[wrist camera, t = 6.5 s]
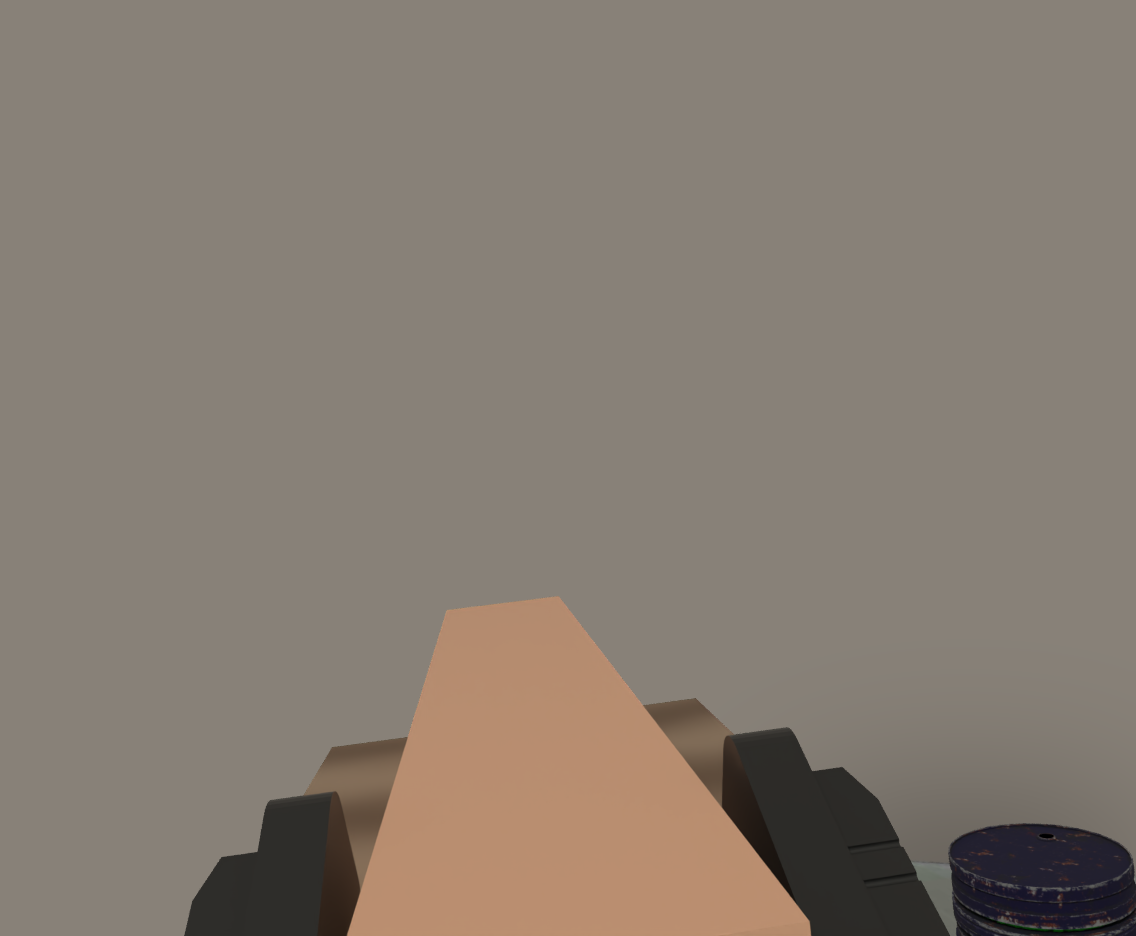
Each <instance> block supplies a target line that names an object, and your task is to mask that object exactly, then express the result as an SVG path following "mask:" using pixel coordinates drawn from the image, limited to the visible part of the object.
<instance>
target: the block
mask: <svg viewBox="0 0 1136 936" xmlns="http://www.w3.org/2000/svg"><path fill="white" fill-rule="evenodd" d="M347 936H811V930H810V921H809V920H808V919H807V917H806V916H805V915H804V914H803V912H802V911H801V910H800V908H799V907H798V906H797V904H796V903H795V902H794V901H793V899H792V898H791V897H790V895H789V894H788V893H787V892H786V890H785V889H784V888H783V886H782V885H781V884H780V882H779V881H778V880H777V879H776V877H775V876H774V875H773V873H772V872H771V871H770V869H769V868H768V867H767V866H766V864H765V863H764V862H763V860H762V859H761V858H760V857H759V855H758V854H757V853H756V851H755V850H754V849H753V847H752V846H751V845H750V844H749V842H748V841H747V840H746V838H745V837H744V836H743V835H742V833H741V832H740V831H739V829H738V828H737V827H736V825H735V824H734V823H733V822H732V820H731V819H730V818H729V816H728V815H727V814H726V812H725V811H724V810H723V809H722V807H721V806H720V805H719V803H718V802H717V801H716V800H715V798H714V797H713V796H712V794H711V793H710V792H709V790H708V789H707V788H706V787H705V785H704V784H703V783H702V781H701V780H700V779H699V777H698V776H697V775H696V774H695V772H694V771H693V770H692V768H691V767H690V766H689V765H688V763H687V762H686V761H685V759H684V758H683V757H682V755H681V754H680V753H679V752H678V750H677V749H676V748H675V746H674V745H673V744H672V743H671V741H670V740H669V739H668V737H667V736H666V735H665V733H664V732H663V731H662V730H661V728H660V727H659V726H658V724H657V723H656V722H655V720H654V719H653V718H652V717H651V715H650V714H649V713H648V711H647V710H646V709H645V708H644V706H643V705H642V704H641V702H640V701H639V700H638V698H637V697H636V696H635V695H634V693H633V692H632V691H631V690H630V688H629V687H628V686H627V684H626V683H625V682H624V680H623V679H622V678H621V676H620V675H619V674H618V673H617V671H616V670H615V669H614V667H613V666H612V665H611V664H610V662H609V661H608V660H607V658H606V657H605V656H604V654H603V653H602V652H601V651H600V649H599V648H598V647H597V645H596V644H595V643H594V641H593V640H592V639H591V638H590V636H589V635H588V634H587V632H586V631H585V630H584V629H583V627H582V626H581V625H580V623H579V622H578V621H577V619H576V618H575V617H574V616H573V614H572V613H571V612H570V610H569V609H568V608H567V606H566V605H565V604H564V603H563V601H562V600H561V599H560V598H559V597H558V596H557V597H549V598H540V599H532V600H525V601H517V602H508V603H500V604H492V605H484V606H476V607H468V608H460V609H452V610H447V611H446V614H445V618H444V621H443V624H442V628H441V631H440V634H439V637H438V641H437V644H436V647H435V650H434V654H433V657H432V660H431V663H430V667H429V670H428V673H427V676H426V680H425V683H424V686H423V690H422V693H421V696H420V699H419V703H418V706H417V709H416V712H415V715H414V719H413V722H412V726H411V729H410V732H409V735H408V738H407V742H406V745H405V748H404V751H403V755H402V758H401V761H400V764H399V768H398V771H397V774H396V777H395V781H394V784H393V787H392V790H391V794H390V797H389V800H388V804H387V807H386V810H385V813H384V817H383V820H382V823H381V826H380V830H379V833H378V836H377V839H376V843H375V846H374V849H373V852H372V856H371V859H370V862H369V866H368V869H367V872H366V875H365V879H364V882H363V885H362V888H361V892H360V895H359V898H358V901H357V905H356V908H355V911H354V914H353V918H352V921H351V924H350V927H349V931H348V934H347Z"/></svg>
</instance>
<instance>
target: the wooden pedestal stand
mask: <svg viewBox="0 0 1136 936" xmlns="http://www.w3.org/2000/svg"><path fill="white" fill-rule="evenodd" d="M643 706H644V708H645V709H646V710H647V711H648V713H649V714H650V715H651V717H652V718H653V719H654V720H655V722H656V723H657V724H658V726H659V727H660V728H661V730H662V731H663V732H664V733H665V735H666V736H667V737H668V739H669V740H670V741H671V743H672V744H673V745H674V746H675V748H676V749H677V750H678V752H679V753H680V754H681V755H682V757H683V758H684V759H685V761H686V762H687V763H688V765H689V766H690V767H691V768H692V770H693V771H694V772H695V774H696V775H697V776H698V777H699V779H700V780H701V781H702V783H703V784H704V785H705V787H706V788H707V789H708V790H709V792H710V793H711V794H712V796H713V797H714V798H715V800H716V801H717V802H718V803H719V805H720V806H721V807H722V777H723V745H724V740H725V737H726V736H729V735H734V734H733V733H732V732H731V731H730V730H729V729H728V728H727V727H725V726H724V725H723V724H722V723H721V722H720V721H719V720H718V719H717V718H716V717H715V716H714V715H713V714H712V713H711V712H710V711H709V710H707V709H706V708H705V707H704V706H703V705H702V704H701V703H700V702H699V701H698V700H697V699H696V698H694V699H687V700H679V701H672V702H665V703H657V704H650V705H643ZM407 738H408V737H405V738H398V739H390V740H384V741H376V742H368V743H361V744H353V745H346V746H338V747H332V749H331V750H330V752H329V754H328V755H327V757H326V759H325V760H324V762H323V764H322V765H321V767H320V769H319V770H318V772H317V774H316V775H315V777H314V779H313V780H312V782H311V784H310V785H309V788H308V789H307V790H306V792H305V794H304V795H312V794H319V793H326V792H333V791H336V792H337V793H338V795H339V798H340V801H341V805H342V809H343V814H344V818H345V822H346V827H347V831H348V835H349V840H350V844H351V848H352V853H353V857H354V861H355V866H356V870H357V874H358V879H359V884H360V891H361V888H362V885H363V882H364V879H365V875H366V872H367V869H368V866H369V862H370V859H371V856H372V852H373V849H374V846H375V843H376V839H377V836H378V833H379V830H380V826H381V823H382V820H383V817H384V813H385V810H386V807H387V804H388V800H389V797H390V794H391V790H392V787H393V784H394V781H395V777H396V774H397V771H398V768H399V764H400V761H401V758H402V755H403V751H404V748H405V745H406V742H407ZM304 795H303V796H304Z"/></svg>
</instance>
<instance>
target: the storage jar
mask: <svg viewBox="0 0 1136 936" xmlns="http://www.w3.org/2000/svg"><path fill="white" fill-rule="evenodd" d="M949 862H950V867H951V870H952V887H953V892H952V900H953V909H954V916H955V919H956V921H957V928H956V935H957V936H1136V884H1135V881H1134V865H1133V858H1132V855H1131V853H1130V852H1129V851H1128V850H1127V848H1125V847H1124V846H1123V845H1121V844H1120V843H1118V842H1116V841H1114V840H1112V839H1111V838H1108V837H1106V836H1103V835H1101V834H1097V833H1094V832H1091V831H1087V830H1083V829H1079V828H1073V827H1067V826H1060V825H1051V824H1030V823H1023V824H1006V825H997V826H990V827H985V828H981V829H977V830H974V831H971V832H968V833H966V834H963V835H961V836H960V837H958V838H957V839H955V840H954V841H953V842H952V843H951V845H950V847H949Z"/></svg>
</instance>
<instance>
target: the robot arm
mask: <svg viewBox="0 0 1136 936" xmlns="http://www.w3.org/2000/svg"><path fill="white" fill-rule="evenodd" d="M722 809H723V810H724V811H725V812H726V814H727V815H728V816H729V818H730V819H731V820H732V822H733V823H734V824H735V825H736V827H737V828H738V829H739V831H740V832H741V833H742V835H743V836H744V837H745V838H746V840H747V841H748V842H749V844H750V845H751V846H752V847H753V849H754V850H755V851H756V853H757V854H758V855H759V857H760V858H761V859H762V860H763V862H764V863H765V864H766V866H767V867H768V868H769V869H770V871H771V872H772V873H773V875H774V876H775V877H776V879H777V880H778V881H779V882H780V884H781V885H782V886H783V888H784V889H785V890H786V892H787V893H788V894H789V895H790V897H791V898H792V899H793V901H794V902H795V903H796V904H797V906H798V907H799V908H800V910H801V911H802V912H803V914H804V915H805V916H806V917H807V919H808V920H809V921H810V930H811V936H950V935H949V933H948V931H947V929H946V927H945V925H944V923H943V921H942V919H941V918H940V916H939V914H938V912H937V910H936V908H935V906H934V904H933V902H932V901H931V899H930V897H929V895H928V893H927V891H926V889H925V887H924V885H923V883H922V882H921V881H919V880H918V878H917V875H916V870H915V868H914V866H913V865H912V863H911V861H910V859H909V857H908V855H907V853H906V852H905V849H904V848H903V847H901V846H900V844H899V838H898V836H897V834H896V832H895V830H894V829H893V827H892V825H891V823H890V821H889V819H888V817H887V815H886V813H885V812H884V810H883V808H882V806H881V804H880V802H879V800H878V799H877V798H876V797H875V796H874V795H873V794H872V793H870V792H869V791H868V790H867V789H866V788H865V787H864V786H863V785H862V784H860V783H859V782H858V781H857V780H856V779H855V778H854V777H853V776H852V775H850V774H849V773H848V772H847V771H846V770H845V769H844V768H843V767H840V768H833V769H826V770H819V771H812V770H811V768H810V766H809V764H808V762H807V759H806V757H805V755H804V753H803V751H802V749H801V747H800V744H799V742H798V740H797V738H796V736H795V735H794V733H793V732H792V730H791V729H790V728H787V727H786V728H780V729H772V730H765V731H758V732H751V733H743V734H736V735H729V736H726V737H725V740H724V745H723V777H722ZM360 892H361V891H360V884H359V879H358V874H357V870H356V866H355V861H354V857H353V853H352V848H351V844H350V840H349V835H348V831H347V827H346V822H345V818H344V814H343V809H342V805H341V801H340V798H339V795H338V793H337V792H336V791H333V792H326V793H319V794H312V795H304V796H297V797H290V798H283V799H276V800H270V801H269V802H268V804H267V806H266V809H265V813H264V818H263V824H262V829H261V835H260V841H259V847H258V852H255V853H248V854H241V855H234V856H227V857H221V859H220V860H219V862H218V863H217V865H216V866H215V868H214V869H213V871H212V872H211V874H210V876H209V877H208V878H207V880H206V881H205V883H204V884H203V886H202V887H201V889H200V890H199V892H198V893H197V895H196V896H195V898H194V900H193V901H192V905H191V909H190V914H189V918H188V923H187V927H186V931H185V935H184V936H347V934H348V931H349V927H350V924H351V921H352V918H353V914H354V911H355V908H356V905H357V901H358V898H359V895H360Z"/></svg>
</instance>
